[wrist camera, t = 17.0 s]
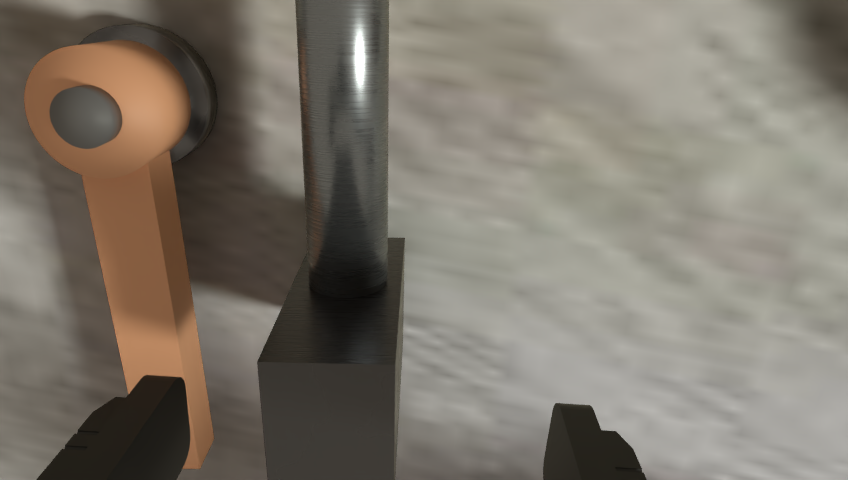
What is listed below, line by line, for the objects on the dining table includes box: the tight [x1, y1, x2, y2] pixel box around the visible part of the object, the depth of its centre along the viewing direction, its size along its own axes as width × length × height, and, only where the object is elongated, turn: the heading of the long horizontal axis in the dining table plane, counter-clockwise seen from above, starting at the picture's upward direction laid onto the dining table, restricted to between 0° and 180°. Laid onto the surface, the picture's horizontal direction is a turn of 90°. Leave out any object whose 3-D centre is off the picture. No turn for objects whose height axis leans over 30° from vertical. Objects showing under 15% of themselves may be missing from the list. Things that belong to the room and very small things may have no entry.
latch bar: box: [24, 40, 214, 469], centre depth 19 cm, size 4×15×3 cm, turn 0°
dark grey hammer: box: [257, 0, 405, 480], centre depth 15 cm, size 17×3×8 cm, turn 178°
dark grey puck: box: [79, 24, 217, 164], centre depth 19 cm, size 4×4×1 cm
